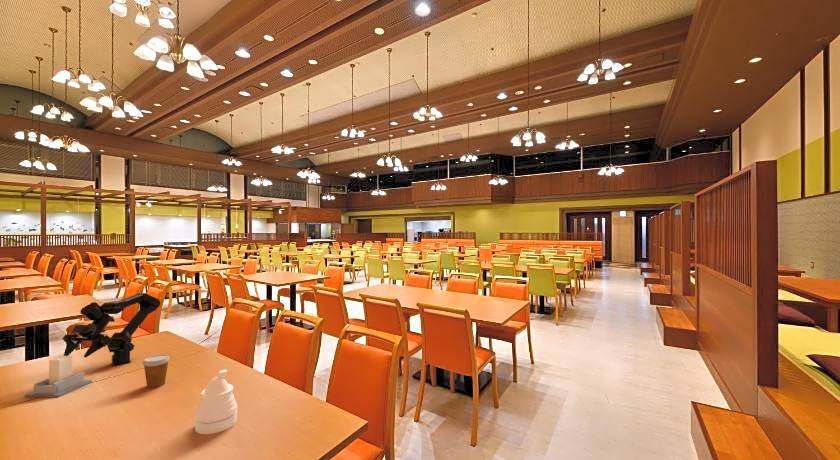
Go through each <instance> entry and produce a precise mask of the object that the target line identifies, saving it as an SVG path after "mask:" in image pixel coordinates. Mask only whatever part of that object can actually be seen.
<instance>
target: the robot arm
mask: <svg viewBox="0 0 840 460" xmlns="http://www.w3.org/2000/svg"><path fill="white" fill-rule="evenodd" d="M136 304H138V305H139V306H138V311H137V312H136V314H134V316H133V317H132V319H130V321H129V322H128V323H127V324H126V326H125V327H124V328H123V330H122V331H120V332H113V334H112V336H111V337H110V336H109V335H107V333H105V332H106V330H105V329H106V327H107V326H108V324H109V323H114V322H115V318H114V316H111V315H118V314H120V313H122V312H123V311H125V308H128V307H130V306H133V305H136ZM160 305H161V300H160V299H159V298H157V297H154V296H153V295H149V294H148V293H146V292H137V293H135V294H133V295H131V296H128V297H125V298H122V299H120V300H114V301H106V302H103V303H102V304H101V305H99V304H98V302H97V301H94V302H93V301H92V302H90V304H87V305H85V306H84V307H82V308H81V309H80V314H81V315H82V316H83V317H85V318H86V319H87V320H89V321H90V322H91V321H92V322H91V323H87V324H74V327H73V329H72V331H71V332H72V333H67V334H65V335H64V336H63V337H62V339H61V340H63V342H64V343H65V348H64V353H63V356H70V355H71V353H73V352H74V350H76V349H77V348H78V347H79V345H80V344H81V343H83V342H91V344H90V346H89V348H88V349H87V351H86V352H85V353H84V355H83V357H84V358H85V359H86V358H88V357H89V356H91V355H93V354H94V353H96V352H97V351H99V350H100V349H102V348H104V347H107V349H108V351H109V353H112V355H111V364H112V365H113V366H114V367H116V366H120V365H125V364H130V363H131V362H132V361H131V352H132V351H134V349H135V344H133V343H132V339H133V337H132V336H133V335H134V333H135V332H136V331H137V330H138V328H139V327H140V325H142V323H143V322H144V321H145V319H147V317H148V315H150V314H152V313H153V312H155V311H156V310H157V309H158V308H159V307H160ZM77 333H78V335H77Z"/></svg>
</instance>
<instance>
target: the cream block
mask: <svg viewBox="0 0 840 460" xmlns="http://www.w3.org/2000/svg"><path fill="white" fill-rule="evenodd" d="M48 361H49V362H48V378H49V385H53V384H54V383H56V382H58V381H61V380H63V379H66V378H68V377H71V376H73V375H72V373H73V372H72V371H73V370H72V368H73V367H72V366H73V365H72V364H73V356H72V355H68V356H64V355H60V356H57V357H53V358H51V359H49V360H48Z"/></svg>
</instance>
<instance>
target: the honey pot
mask: <svg viewBox="0 0 840 460" xmlns="http://www.w3.org/2000/svg"><path fill="white" fill-rule="evenodd" d="M218 374H219V375H216V376H214V377H213V378H212V379H211V380H209V382H208V384H207V386H206V387H205V388H204V389H203V390H202V391H201V392H200V396H201V398H200V400H199V402H198V405H197V409H196V411H195V413H194V414H195V415H194V416H195V417H194V418H195V420H194V430H195V432H196V433H197V434H199V435H200V434H201V435H210V434H212V435H213V434H217V433H220V432H223V431H226V430H228V429H229V428H231V427H233V426H234V425H235V424H236V423H237V421H238V403H237V402H236V398H235V395H234V393H233V391H234V386H233V385H232V384H230V383H228V382H227V381H226V379H225V378H224V377H225V376H226V375H227V374H228V369H222V370H219V371H218Z"/></svg>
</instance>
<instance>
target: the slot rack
mask: <svg viewBox="0 0 840 460" xmlns="http://www.w3.org/2000/svg"><path fill="white" fill-rule="evenodd" d="M92 383H93V380H92V379H85V371H81V372H79V373H76V374H73V375H71V377H68V378H66V379H63V380H61V381H58V382H56V383H54V384H53V385H49V377H48V378H45V379H43V380H41V381H40V380H39V381H38V382H37V381H36V383H34V384H33V390H32V391H30V392H28V393H26V394H24V397H25V398H61V397H62V396H65V395H67V394H69V393H71V392H73V391H76V390H78V389H81V388H84V387H85V386H86V385H90V384H92Z"/></svg>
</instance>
